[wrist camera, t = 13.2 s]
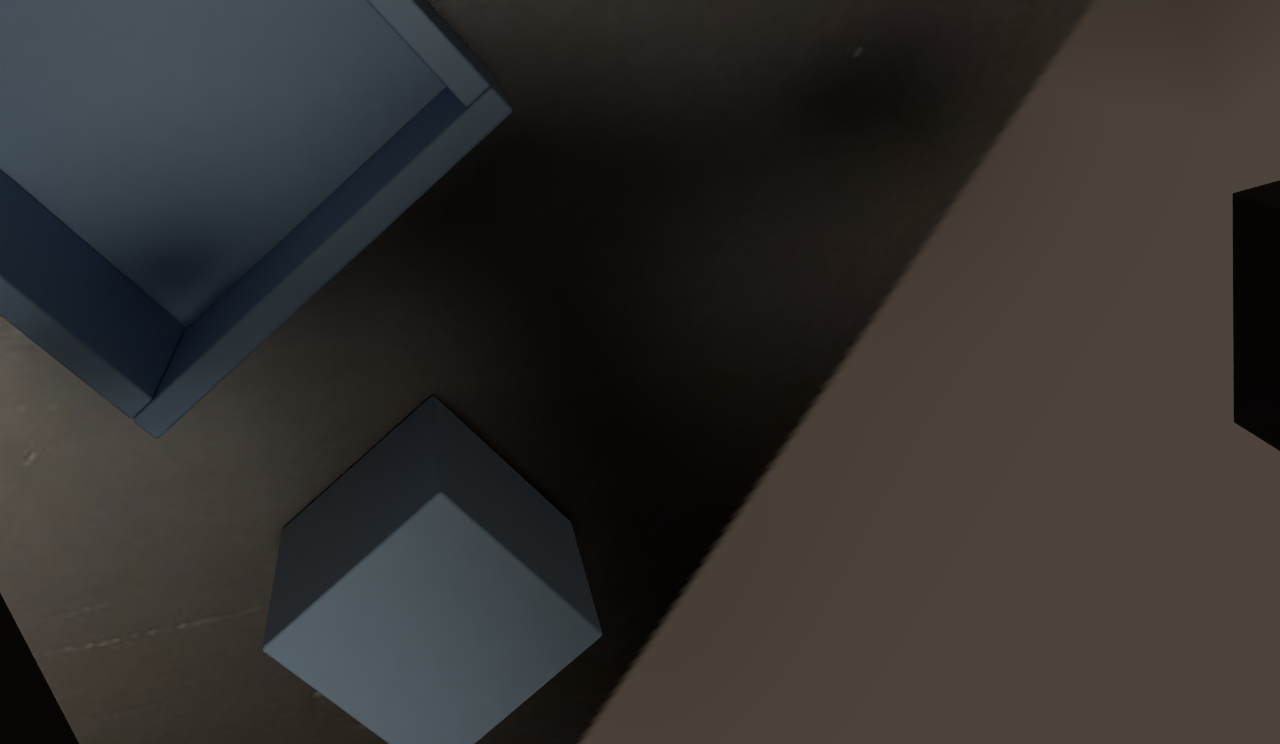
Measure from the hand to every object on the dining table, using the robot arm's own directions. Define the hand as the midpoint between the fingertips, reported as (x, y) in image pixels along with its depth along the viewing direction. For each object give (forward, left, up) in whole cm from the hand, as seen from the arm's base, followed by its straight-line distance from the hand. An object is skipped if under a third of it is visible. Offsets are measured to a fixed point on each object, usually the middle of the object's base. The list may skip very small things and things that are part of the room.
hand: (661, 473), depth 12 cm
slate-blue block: (-5, +8, -15) cm, 18 cm away
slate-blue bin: (+7, +4, -15) cm, 17 cm away
